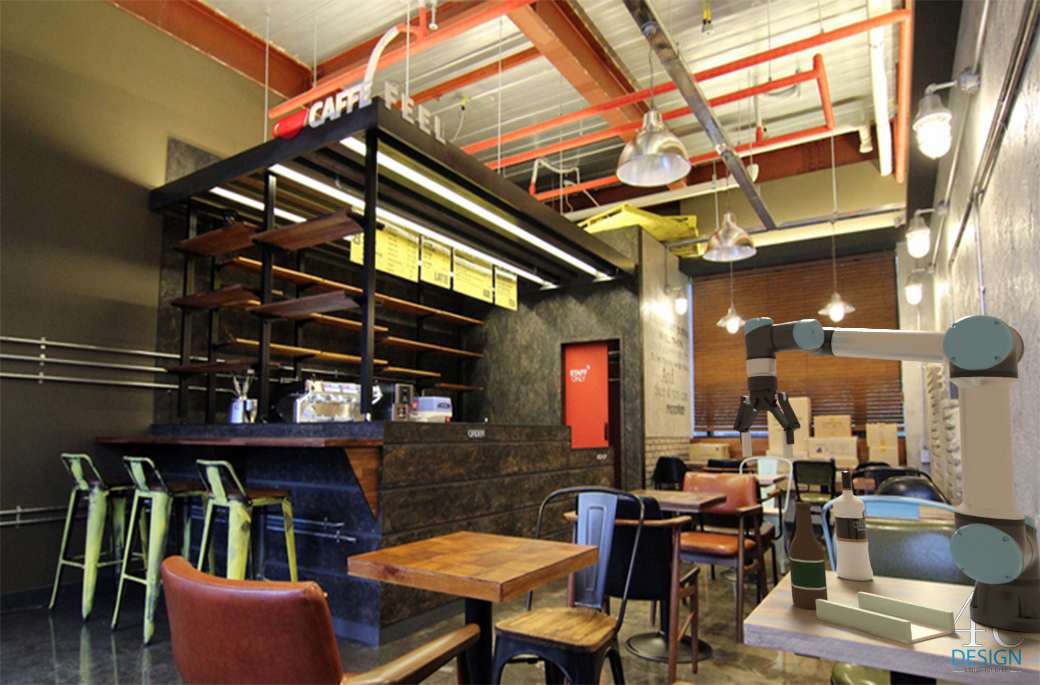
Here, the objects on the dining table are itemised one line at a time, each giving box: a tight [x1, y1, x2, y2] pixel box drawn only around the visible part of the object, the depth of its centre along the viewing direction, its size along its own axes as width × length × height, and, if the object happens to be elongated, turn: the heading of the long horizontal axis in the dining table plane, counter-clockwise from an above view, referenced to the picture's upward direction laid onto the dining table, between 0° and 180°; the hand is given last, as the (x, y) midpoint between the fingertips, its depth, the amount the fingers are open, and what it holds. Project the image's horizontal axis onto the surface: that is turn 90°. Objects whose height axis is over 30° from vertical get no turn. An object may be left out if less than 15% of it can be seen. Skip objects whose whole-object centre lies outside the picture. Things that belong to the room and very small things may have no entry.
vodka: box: [832, 470, 874, 582], centre depth 181 cm, size 9×9×30 cm
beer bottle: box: [788, 501, 829, 611], centre depth 150 cm, size 8×8×24 cm
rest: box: [816, 591, 956, 645], centre depth 133 cm, size 20×16×4 cm
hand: (767, 457), depth 163 cm, fingers open, 13 cm apart
